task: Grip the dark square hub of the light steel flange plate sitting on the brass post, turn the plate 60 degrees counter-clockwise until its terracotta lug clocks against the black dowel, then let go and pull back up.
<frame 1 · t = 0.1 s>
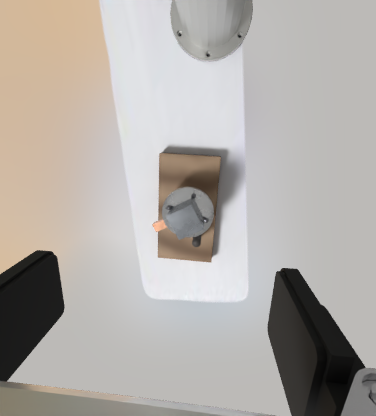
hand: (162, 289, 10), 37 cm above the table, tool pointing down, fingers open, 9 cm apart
flange plate: (180, 219, 40), point 8 cm above the table, hinge at 0.0°
base board: (187, 208, 47), on the table
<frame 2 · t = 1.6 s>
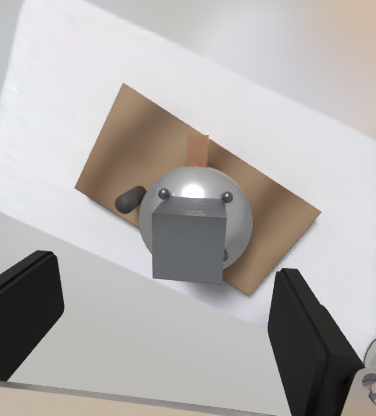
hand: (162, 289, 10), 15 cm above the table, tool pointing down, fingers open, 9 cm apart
flange plate: (192, 216, 17), point 8 cm above the table, hinge at 0.0°
base board: (194, 194, 25), on the table
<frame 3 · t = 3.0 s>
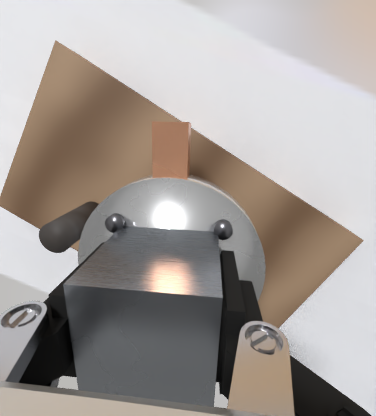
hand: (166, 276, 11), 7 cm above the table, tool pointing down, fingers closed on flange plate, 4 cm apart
flange plate: (162, 267, 10), point 8 cm above the table, hinge at 0.0°, touching gripper
base board: (175, 212, 17), on the table
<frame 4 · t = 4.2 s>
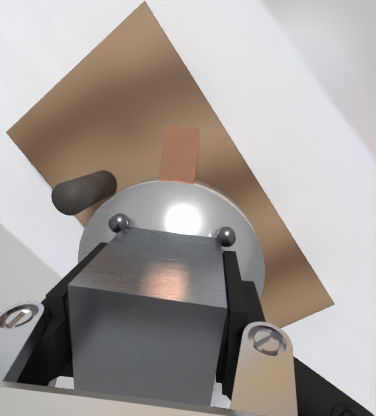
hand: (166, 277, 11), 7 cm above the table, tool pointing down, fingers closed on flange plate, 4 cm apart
flange plate: (164, 270, 10), point 8 cm above the table, hinge at 19.6°, touching gripper
base board: (181, 212, 17), on the table
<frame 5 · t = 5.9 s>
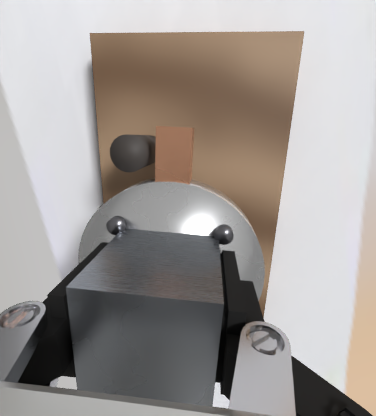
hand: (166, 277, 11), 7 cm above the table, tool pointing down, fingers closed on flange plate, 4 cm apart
flange plate: (163, 270, 10), point 8 cm above the table, hinge at 58.5°, touching gripper
base board: (190, 214, 17), on the table
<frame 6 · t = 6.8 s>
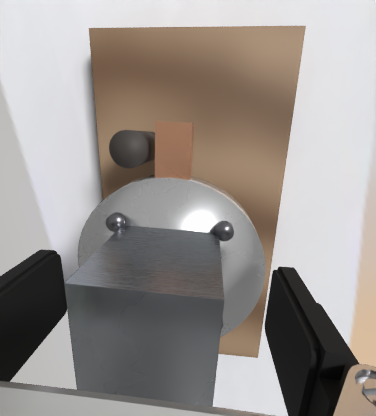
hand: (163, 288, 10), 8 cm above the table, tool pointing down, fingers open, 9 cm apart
flange plate: (163, 267, 10), point 8 cm above the table, hinge at 58.5°
base board: (190, 212, 17), on the table
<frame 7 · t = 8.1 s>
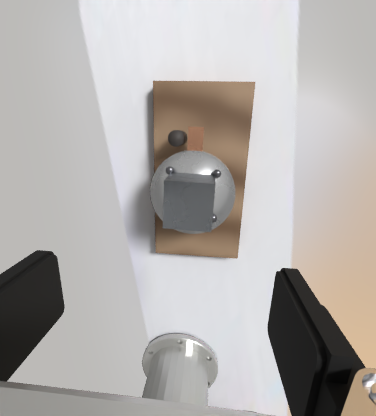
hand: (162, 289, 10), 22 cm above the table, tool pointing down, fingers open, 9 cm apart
flange plate: (191, 187, 23), point 8 cm above the table, hinge at 58.6°
base board: (199, 175, 31), on the table
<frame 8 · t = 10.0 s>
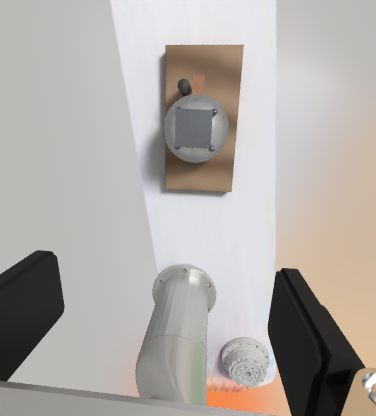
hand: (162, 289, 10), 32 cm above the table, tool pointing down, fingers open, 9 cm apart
flange plate: (195, 120, 31), point 8 cm above the table, hinge at 58.6°
mechanical component: (244, 353, 52), on the table
base board: (201, 124, 38), on the table
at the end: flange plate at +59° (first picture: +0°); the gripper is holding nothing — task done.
